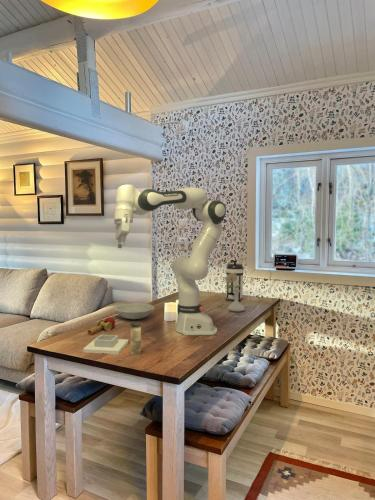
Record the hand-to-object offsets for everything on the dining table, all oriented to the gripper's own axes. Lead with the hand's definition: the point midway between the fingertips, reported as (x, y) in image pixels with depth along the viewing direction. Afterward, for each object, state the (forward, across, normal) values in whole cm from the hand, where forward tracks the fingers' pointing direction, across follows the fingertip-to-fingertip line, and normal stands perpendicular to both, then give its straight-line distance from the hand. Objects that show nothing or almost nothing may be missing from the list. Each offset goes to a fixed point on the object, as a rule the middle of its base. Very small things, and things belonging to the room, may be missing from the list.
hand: (121, 246), depth 174 cm
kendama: (+41, +33, +2) cm, 52 cm away
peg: (+47, -4, -10) cm, 49 cm away
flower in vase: (+26, +54, -84) cm, 104 cm away
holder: (+46, +6, +2) cm, 47 cm away
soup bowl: (+34, +54, -18) cm, 66 cm away
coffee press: (+18, +84, -98) cm, 130 cm away
